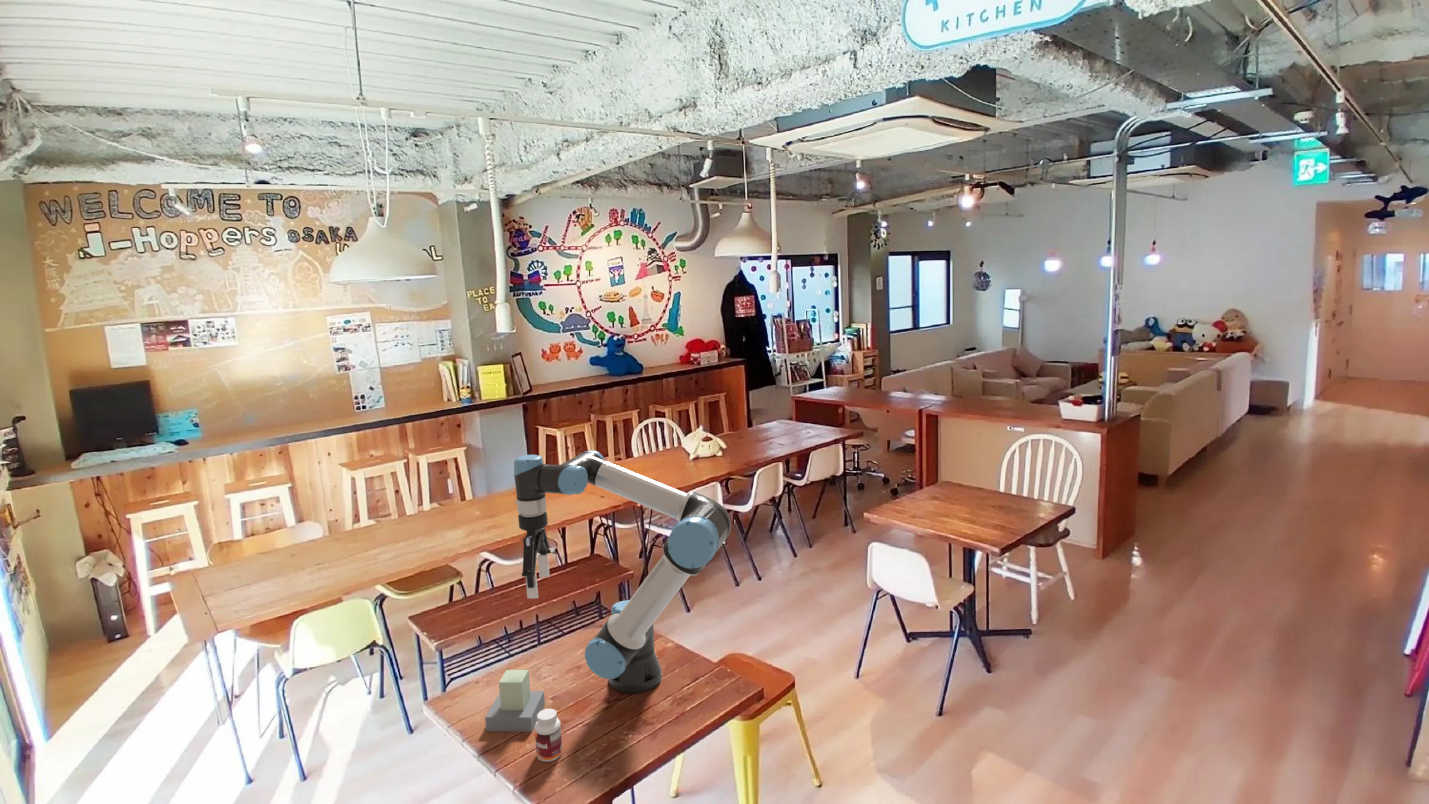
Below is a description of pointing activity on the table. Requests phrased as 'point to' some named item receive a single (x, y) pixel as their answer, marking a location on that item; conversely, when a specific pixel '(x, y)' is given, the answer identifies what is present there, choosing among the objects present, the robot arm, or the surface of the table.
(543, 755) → the pill bottle
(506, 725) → the slate block
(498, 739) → the table surface
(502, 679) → the sage block
